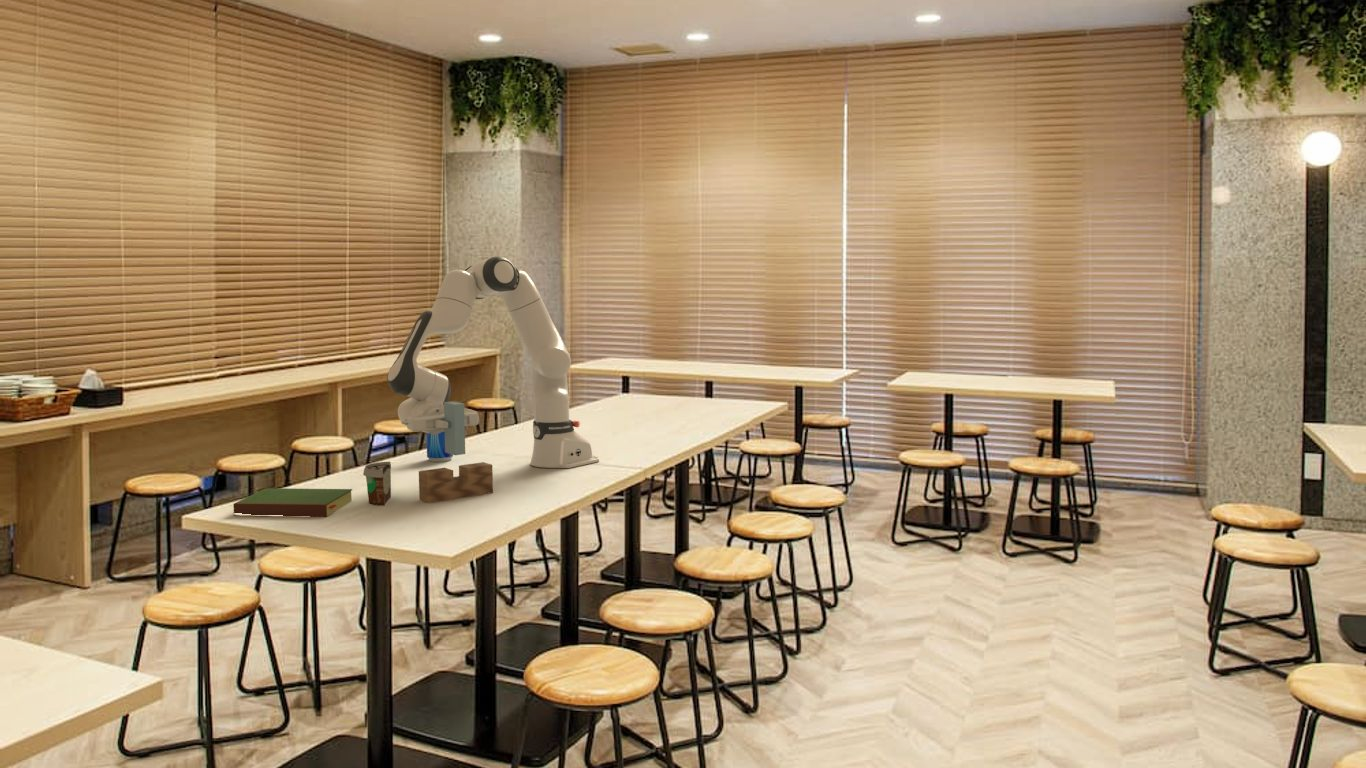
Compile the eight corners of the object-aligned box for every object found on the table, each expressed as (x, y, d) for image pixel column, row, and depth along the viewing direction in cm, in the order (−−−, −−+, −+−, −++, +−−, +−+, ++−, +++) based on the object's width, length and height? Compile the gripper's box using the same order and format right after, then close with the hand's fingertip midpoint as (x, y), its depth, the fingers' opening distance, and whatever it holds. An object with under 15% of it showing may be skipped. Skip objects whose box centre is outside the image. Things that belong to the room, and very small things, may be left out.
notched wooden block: (484, 489, 308) (483, 462, 307) (492, 492, 304) (492, 464, 303) (419, 499, 295) (418, 471, 294) (428, 503, 291) (427, 473, 290)
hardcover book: (234, 518, 277) (233, 503, 277) (266, 501, 296) (265, 488, 295) (329, 519, 276) (328, 504, 275) (355, 502, 294) (355, 489, 294)
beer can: (447, 462, 348) (445, 413, 346) (422, 461, 350) (421, 413, 348) (457, 458, 356) (456, 410, 355) (433, 457, 358) (432, 409, 356)
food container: (369, 497, 299) (368, 461, 298) (392, 496, 299) (390, 461, 298) (359, 507, 286) (358, 470, 285) (383, 506, 287) (382, 470, 286)
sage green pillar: (454, 451, 301) (453, 401, 300) (465, 454, 297) (464, 403, 295) (445, 452, 299) (443, 402, 298) (455, 455, 295) (454, 404, 293)
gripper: (398, 410, 300) (420, 416, 289) (464, 404, 313) (488, 409, 303) (398, 433, 301) (421, 439, 290) (464, 425, 314) (488, 431, 303)
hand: (456, 424), depth 296 cm, fingers closed on sage green pillar, 3 cm apart
